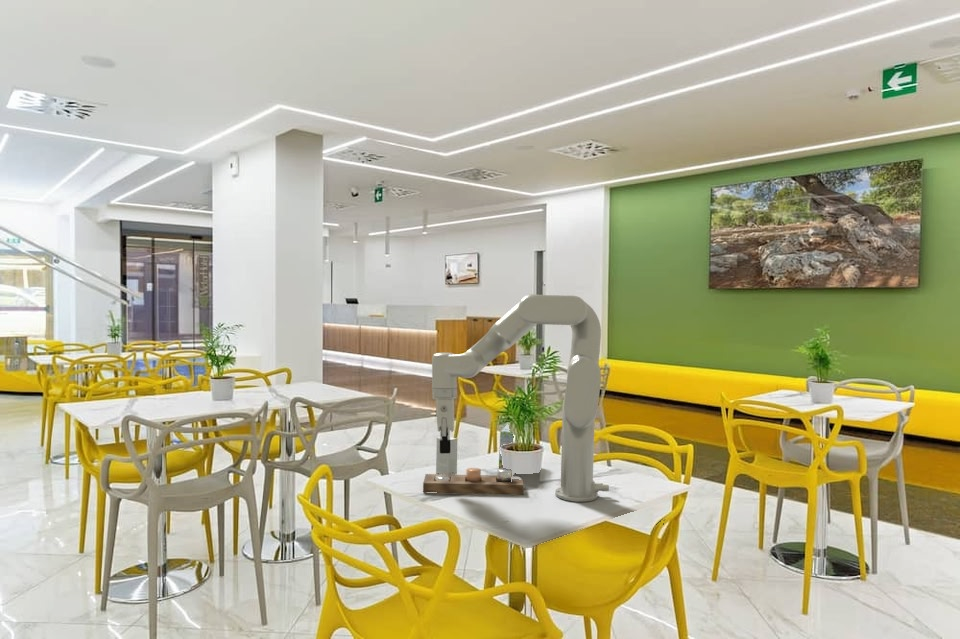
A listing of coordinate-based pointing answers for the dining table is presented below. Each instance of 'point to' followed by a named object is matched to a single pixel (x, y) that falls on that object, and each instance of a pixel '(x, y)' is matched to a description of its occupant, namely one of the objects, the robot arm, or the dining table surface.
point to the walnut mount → (472, 485)
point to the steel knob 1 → (442, 478)
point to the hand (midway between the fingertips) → (445, 452)
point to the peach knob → (473, 475)
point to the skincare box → (447, 458)
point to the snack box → (504, 441)
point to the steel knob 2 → (504, 475)
